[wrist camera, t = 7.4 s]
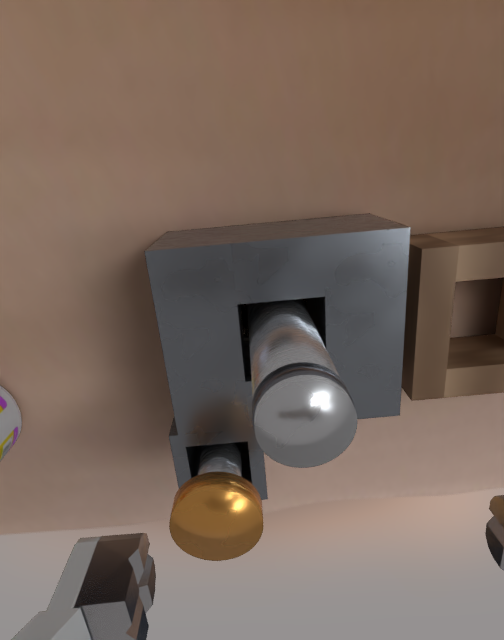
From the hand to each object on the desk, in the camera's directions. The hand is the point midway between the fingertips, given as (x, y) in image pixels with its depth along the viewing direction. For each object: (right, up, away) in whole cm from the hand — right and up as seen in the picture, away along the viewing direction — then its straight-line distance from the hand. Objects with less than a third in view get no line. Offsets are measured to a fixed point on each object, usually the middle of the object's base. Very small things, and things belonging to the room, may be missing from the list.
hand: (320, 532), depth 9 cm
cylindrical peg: (0, +6, +16) cm, 17 cm away
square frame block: (+12, +6, +16) cm, 21 cm away
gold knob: (-3, -3, +15) cm, 16 cm away
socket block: (0, +4, +17) cm, 17 cm away
